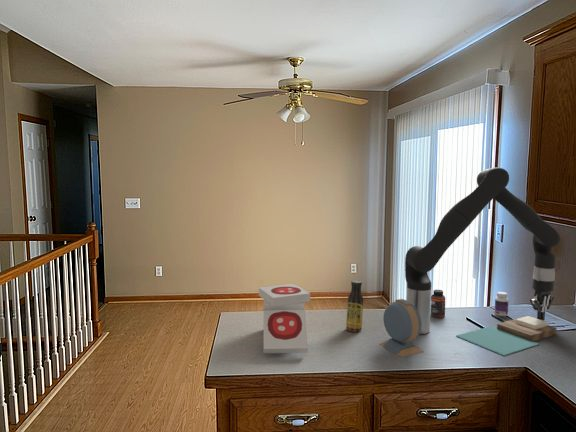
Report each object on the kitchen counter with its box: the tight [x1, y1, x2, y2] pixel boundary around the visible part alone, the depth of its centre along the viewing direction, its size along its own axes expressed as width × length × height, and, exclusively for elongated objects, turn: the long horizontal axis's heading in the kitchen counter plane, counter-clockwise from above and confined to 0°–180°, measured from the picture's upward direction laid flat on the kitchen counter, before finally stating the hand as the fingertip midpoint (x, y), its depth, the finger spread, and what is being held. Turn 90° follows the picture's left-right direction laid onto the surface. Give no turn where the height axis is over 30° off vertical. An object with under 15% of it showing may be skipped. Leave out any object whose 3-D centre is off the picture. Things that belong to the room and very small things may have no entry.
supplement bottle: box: [430, 289, 446, 319], centre depth 189 cm, size 6×6×11 cm
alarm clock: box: [379, 298, 425, 358], centre depth 155 cm, size 14×10×18 cm
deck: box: [496, 316, 557, 342], centre depth 171 cm, size 16×14×2 cm
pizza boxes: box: [258, 283, 311, 354], centre depth 160 cm, size 19×30×18 cm, turn 3°
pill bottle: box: [493, 291, 510, 317], centre depth 191 cm, size 5×5×10 cm
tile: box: [515, 315, 549, 329], centre depth 172 cm, size 8×8×2 cm
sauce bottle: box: [345, 279, 364, 333], centre depth 172 cm, size 7×6×20 cm
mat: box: [455, 325, 540, 357], centre depth 162 cm, size 20×20×1 cm
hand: (540, 320), depth 175 cm, fingers closed
